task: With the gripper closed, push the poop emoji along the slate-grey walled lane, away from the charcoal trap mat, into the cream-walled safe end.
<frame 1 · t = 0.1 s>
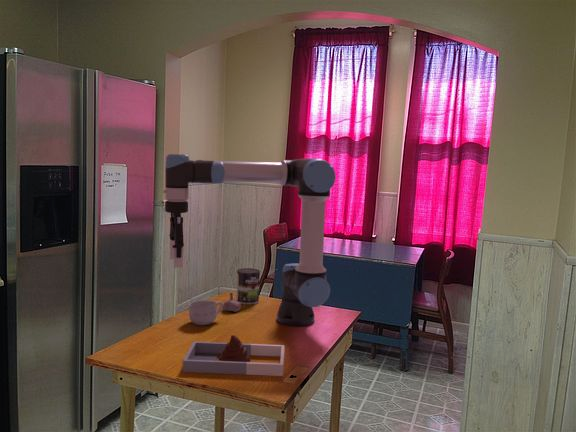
hand: (175, 262, 173), 28 cm above the table, tool pointing down, fingers open, 13 cm apart
coffee can: (247, 301, 230), on the table
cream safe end: (264, 364, 161), on the table
teacup: (206, 323, 199), on the table
poop emoji: (234, 364, 161), on the table
garlic bulb: (231, 311, 215), on the table
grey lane: (235, 363, 161), on the table
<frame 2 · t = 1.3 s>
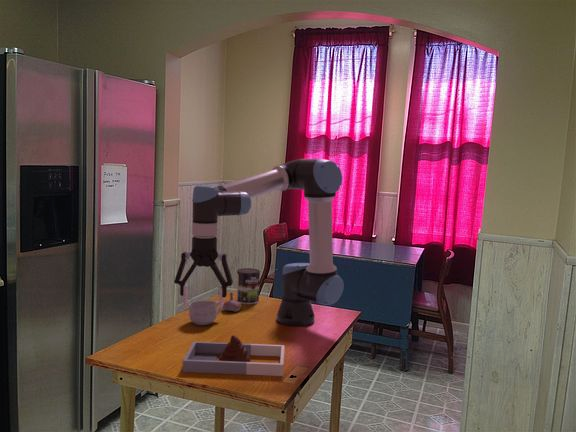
hand: (203, 306, 159), 18 cm above the table, tool pointing down, fingers open, 10 cm apart
nothing on the table moved.
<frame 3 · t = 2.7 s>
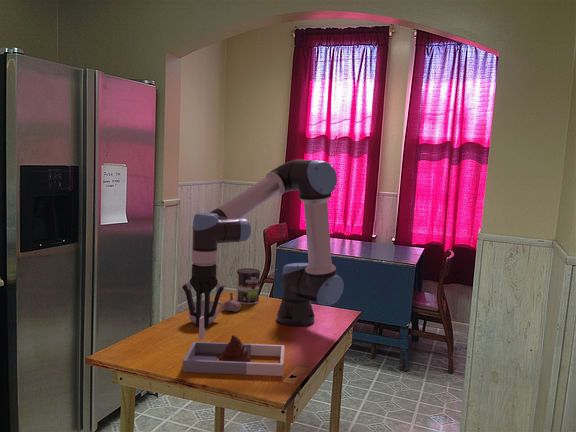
hand: (201, 337, 160), 8 cm above the table, tool pointing down, fingers closed
nothing on the table moved.
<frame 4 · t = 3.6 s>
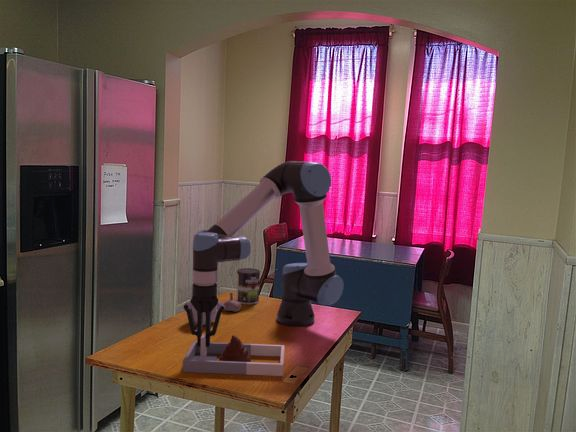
hand: (203, 356, 161), 2 cm above the table, tool pointing down, fingers closed
nothing on the table moved.
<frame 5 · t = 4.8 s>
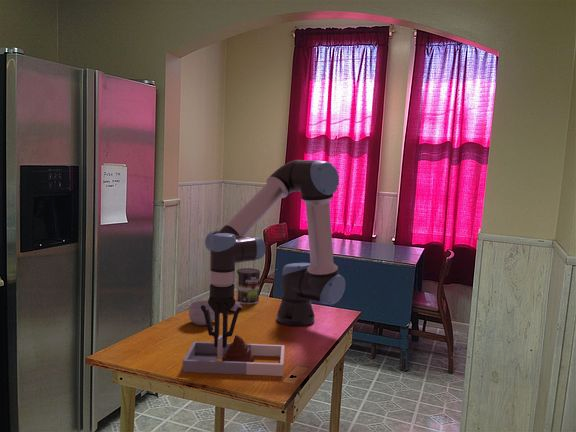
hand: (220, 356, 161), 2 cm above the table, tool pointing down, fingers closed
poop emoji: (237, 364, 161), on the table, touching gripper
everything else where it was.
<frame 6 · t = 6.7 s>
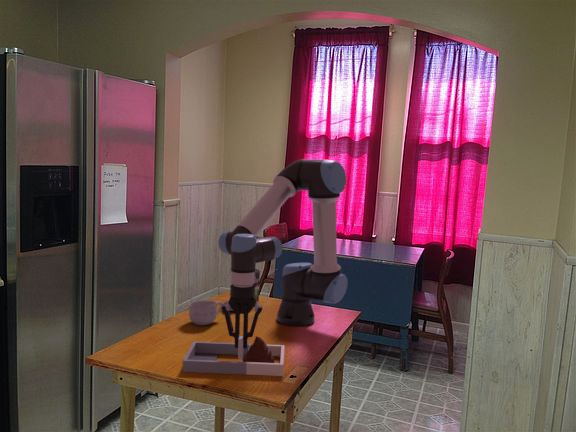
hand: (240, 357, 161), 2 cm above the table, tool pointing down, fingers closed
poop emoji: (258, 365, 161), on the table
everything else where it was.
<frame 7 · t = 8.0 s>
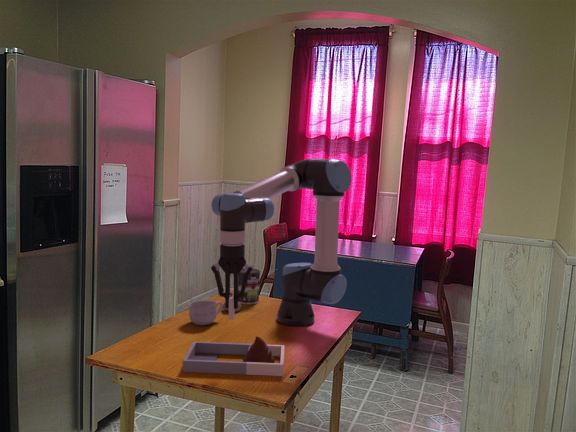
hand: (231, 318, 159), 14 cm above the table, tool pointing down, fingers closed
nothing on the table moved.
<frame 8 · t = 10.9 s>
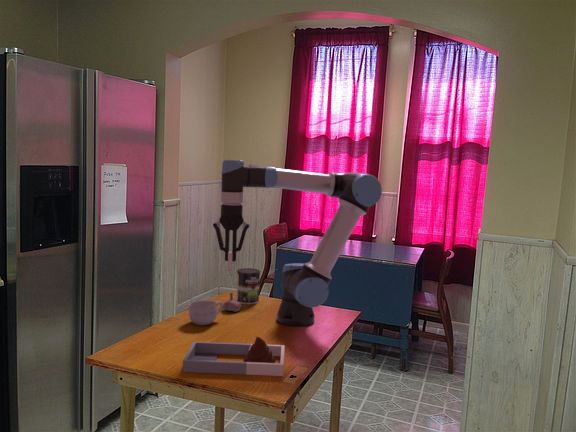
hand: (230, 270, 181), 24 cm above the table, tool pointing down, fingers closed
nothing on the table moved.
at the end: poop emoji 1.7 cm from the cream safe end (horizontally); poop emoji tilted 0°; poop emoji moved 7.9 cm from its start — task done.
